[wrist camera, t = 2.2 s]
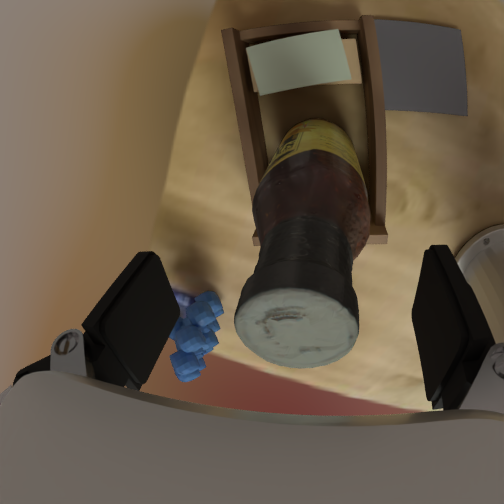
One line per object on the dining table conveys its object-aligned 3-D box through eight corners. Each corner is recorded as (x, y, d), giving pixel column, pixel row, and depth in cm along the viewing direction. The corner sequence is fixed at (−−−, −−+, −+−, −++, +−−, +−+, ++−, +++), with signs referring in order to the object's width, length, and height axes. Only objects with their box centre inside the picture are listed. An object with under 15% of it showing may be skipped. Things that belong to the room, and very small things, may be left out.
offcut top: (336, 35, 16) (338, 28, 14) (347, 79, 18) (351, 79, 16) (255, 51, 18) (245, 47, 16) (268, 93, 20) (260, 95, 18)
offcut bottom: (350, 44, 19) (355, 38, 16) (356, 82, 21) (361, 83, 18) (256, 52, 21) (246, 49, 18) (262, 90, 23) (254, 92, 20)
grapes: (185, 255, 35) (135, 330, 25) (241, 273, 34) (206, 357, 24) (181, 319, 41) (145, 387, 32) (226, 335, 41) (198, 407, 31)
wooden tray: (364, 25, 17) (376, 11, 13) (376, 210, 26) (387, 244, 22) (237, 36, 20) (213, 27, 15) (267, 213, 29) (253, 245, 24)
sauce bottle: (289, 109, 23) (201, 202, 7) (361, 127, 23) (441, 266, 7) (275, 177, 27) (195, 358, 11) (341, 194, 26) (350, 395, 10)
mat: (457, 30, 15) (460, 29, 14) (464, 115, 19) (467, 116, 19) (371, 20, 17) (373, 19, 17) (382, 109, 21) (384, 110, 21)
